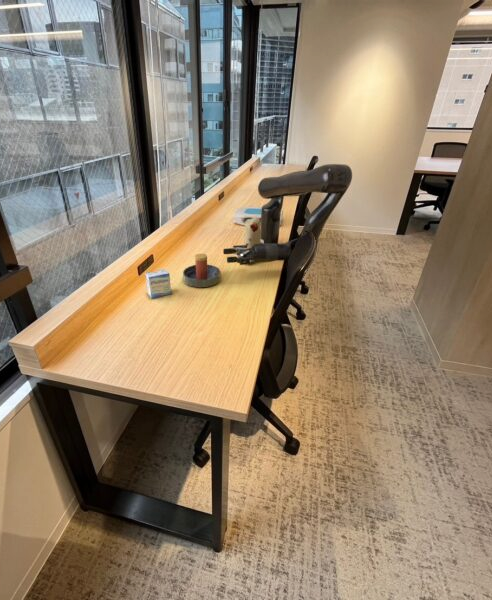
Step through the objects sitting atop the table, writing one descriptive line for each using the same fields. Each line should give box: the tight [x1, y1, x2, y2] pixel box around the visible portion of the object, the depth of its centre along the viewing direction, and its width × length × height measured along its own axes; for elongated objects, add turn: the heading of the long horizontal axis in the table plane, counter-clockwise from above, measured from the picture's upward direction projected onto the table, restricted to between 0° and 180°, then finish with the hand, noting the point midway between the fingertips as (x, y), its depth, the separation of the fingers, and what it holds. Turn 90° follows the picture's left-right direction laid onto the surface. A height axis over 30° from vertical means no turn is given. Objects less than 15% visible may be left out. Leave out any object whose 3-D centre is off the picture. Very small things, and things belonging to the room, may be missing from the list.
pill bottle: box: [194, 253, 208, 280], centre depth 130 cm, size 5×5×10 cm
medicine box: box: [144, 269, 172, 299], centre depth 121 cm, size 8×4×9 cm, turn 117°
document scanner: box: [232, 206, 284, 226], centre depth 200 cm, size 21×28×6 cm
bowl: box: [182, 264, 221, 288], centre depth 132 cm, size 15×15×4 cm
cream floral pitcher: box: [243, 217, 261, 248], centre depth 144 cm, size 10×7×20 cm
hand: (225, 255), depth 130 cm, fingers open, 8 cm apart
